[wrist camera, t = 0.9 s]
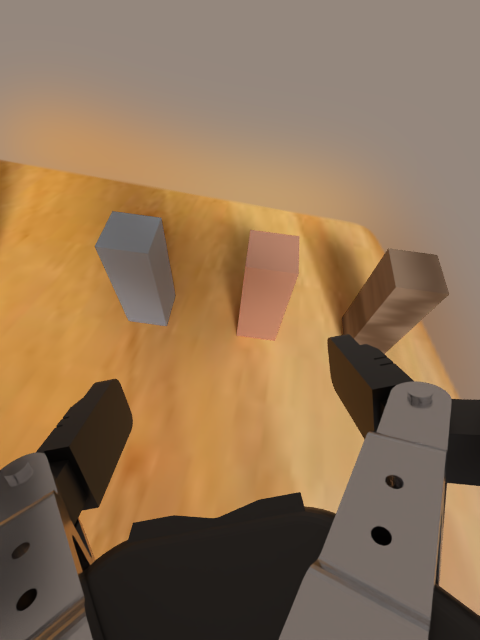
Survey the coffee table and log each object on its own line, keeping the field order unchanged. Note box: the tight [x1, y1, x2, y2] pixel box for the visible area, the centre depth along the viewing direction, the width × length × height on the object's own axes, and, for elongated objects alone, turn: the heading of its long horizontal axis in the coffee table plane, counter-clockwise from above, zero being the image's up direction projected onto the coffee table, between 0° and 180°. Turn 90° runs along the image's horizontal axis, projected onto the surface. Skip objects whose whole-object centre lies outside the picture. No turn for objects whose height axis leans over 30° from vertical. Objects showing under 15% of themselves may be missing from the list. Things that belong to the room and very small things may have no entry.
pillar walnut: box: [342, 249, 449, 354], centre depth 32 cm, size 4×4×12 cm
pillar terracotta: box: [237, 230, 299, 341], centre depth 32 cm, size 4×4×12 cm
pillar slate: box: [95, 211, 175, 326], centre depth 32 cm, size 4×4×12 cm
